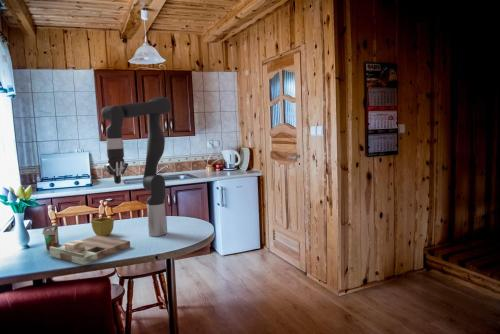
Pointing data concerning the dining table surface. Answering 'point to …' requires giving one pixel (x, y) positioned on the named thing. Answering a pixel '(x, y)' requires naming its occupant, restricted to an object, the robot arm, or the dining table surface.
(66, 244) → the block
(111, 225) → the flower pot
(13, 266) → the dining table surface
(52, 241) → the food container
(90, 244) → the wooden puzzle tray
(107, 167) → the robot arm
